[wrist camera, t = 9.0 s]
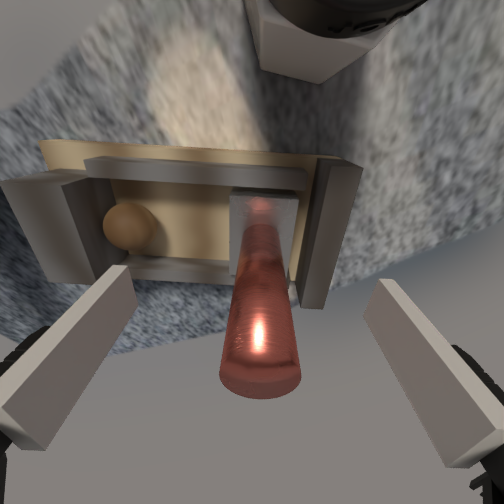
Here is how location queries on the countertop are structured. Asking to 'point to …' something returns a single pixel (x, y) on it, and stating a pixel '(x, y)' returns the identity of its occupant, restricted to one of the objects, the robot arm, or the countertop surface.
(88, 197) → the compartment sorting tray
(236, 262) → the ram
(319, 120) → the countertop surface
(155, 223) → the nut
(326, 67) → the jar
